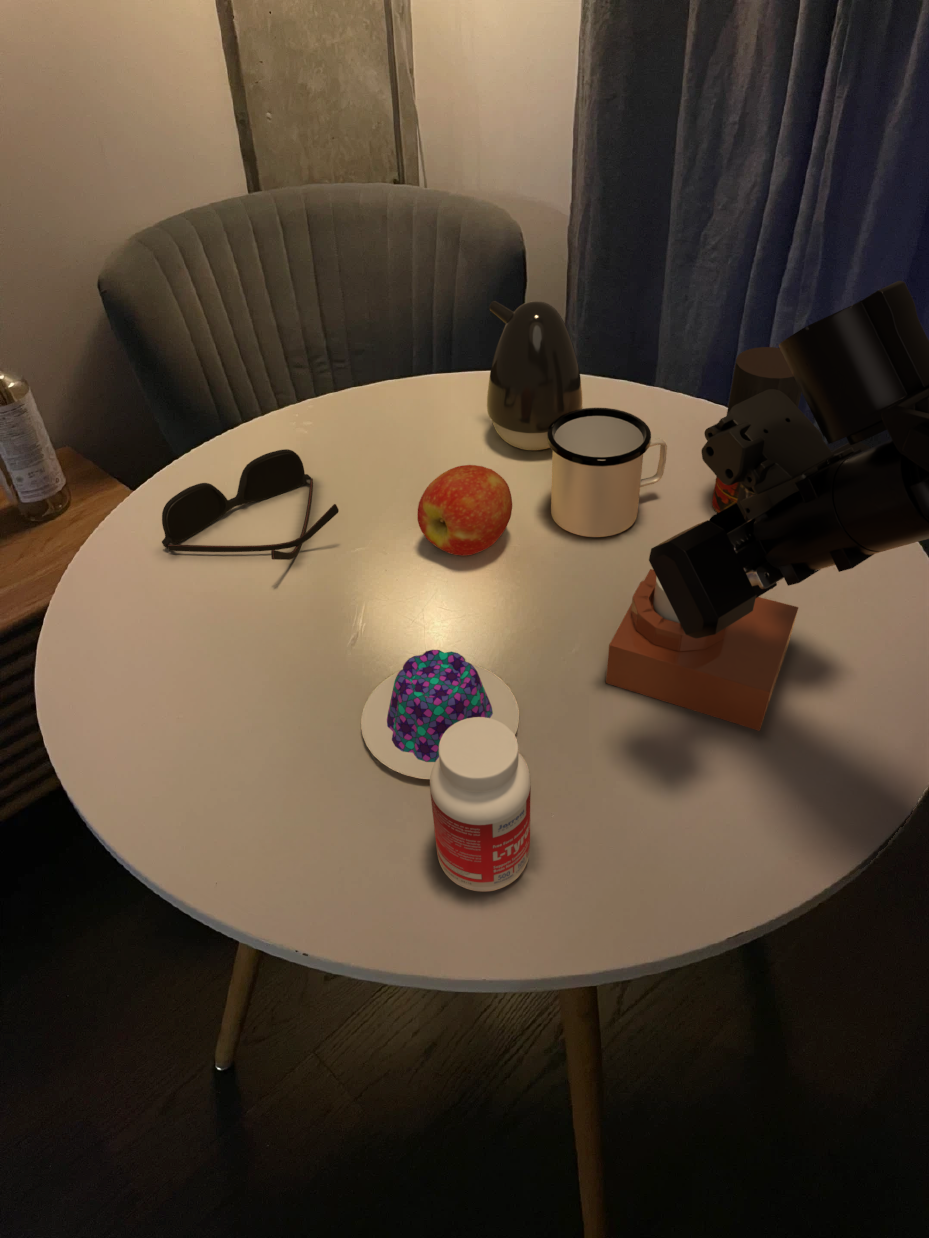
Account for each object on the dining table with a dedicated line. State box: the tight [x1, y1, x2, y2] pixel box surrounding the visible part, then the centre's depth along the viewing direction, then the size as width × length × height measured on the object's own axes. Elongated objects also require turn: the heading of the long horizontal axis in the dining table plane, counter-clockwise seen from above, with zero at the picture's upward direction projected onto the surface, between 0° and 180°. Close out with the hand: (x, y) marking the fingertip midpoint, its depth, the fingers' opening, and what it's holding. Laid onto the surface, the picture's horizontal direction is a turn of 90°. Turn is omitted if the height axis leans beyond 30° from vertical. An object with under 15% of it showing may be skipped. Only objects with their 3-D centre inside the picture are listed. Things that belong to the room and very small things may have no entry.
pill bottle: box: [429, 717, 532, 892], centre depth 55 cm, size 6×6×11 cm
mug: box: [547, 407, 668, 538], centre depth 84 cm, size 12×10×9 cm
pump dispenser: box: [486, 300, 583, 451], centre depth 93 cm, size 10×10×15 cm
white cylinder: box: [653, 576, 680, 623], centre depth 67 cm, size 4×4×2 cm
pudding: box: [360, 649, 520, 780], centre depth 66 cm, size 12×12×5 cm
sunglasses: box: [161, 448, 340, 561], centre depth 84 cm, size 17×14×5 cm
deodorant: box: [711, 346, 802, 518], centre depth 82 cm, size 6×6×15 cm
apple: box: [416, 464, 513, 556], centre depth 82 cm, size 8×8×8 cm
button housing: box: [605, 568, 799, 731], centre depth 69 cm, size 12×10×6 cm
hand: (698, 562), depth 64 cm, fingers closed
